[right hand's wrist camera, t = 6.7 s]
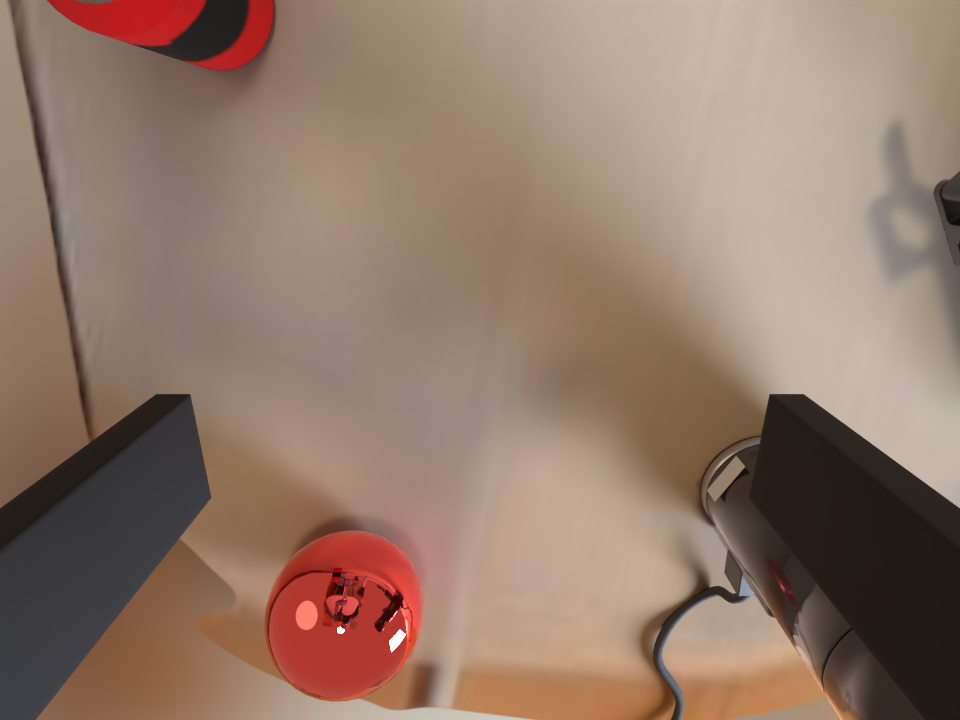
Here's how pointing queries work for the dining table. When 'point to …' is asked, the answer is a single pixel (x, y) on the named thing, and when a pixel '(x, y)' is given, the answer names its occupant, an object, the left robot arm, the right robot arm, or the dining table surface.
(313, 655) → the ball
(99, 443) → the right robot arm
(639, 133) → the dining table surface
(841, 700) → the left robot arm
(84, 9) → the soda can
